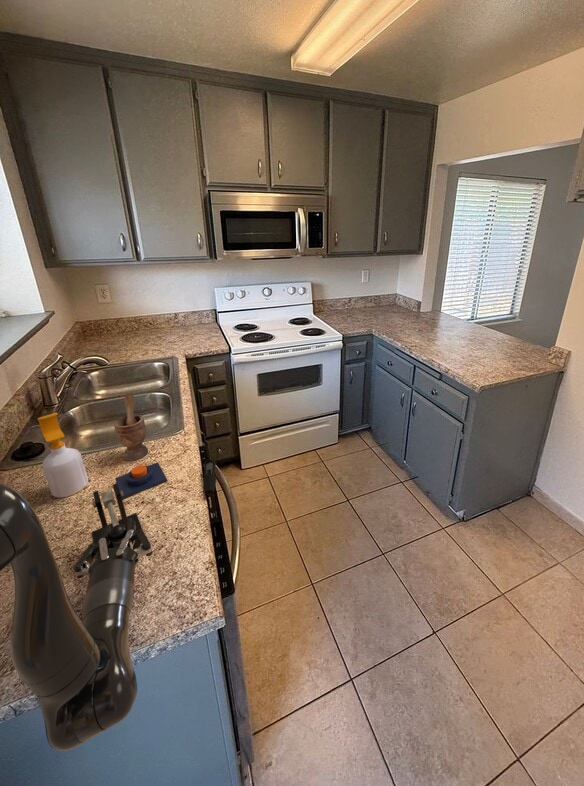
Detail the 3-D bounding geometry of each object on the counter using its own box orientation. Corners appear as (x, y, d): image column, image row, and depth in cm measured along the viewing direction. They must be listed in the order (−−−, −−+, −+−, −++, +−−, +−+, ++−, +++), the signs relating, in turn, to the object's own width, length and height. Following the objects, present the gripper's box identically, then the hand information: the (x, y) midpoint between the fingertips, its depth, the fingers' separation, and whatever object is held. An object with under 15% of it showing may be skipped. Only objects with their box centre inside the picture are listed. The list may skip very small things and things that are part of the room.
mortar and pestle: (118, 449, 123) (105, 397, 116) (145, 440, 128) (134, 389, 121) (124, 465, 115) (111, 410, 108) (153, 455, 120) (142, 402, 113)
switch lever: (130, 541, 77) (128, 531, 75) (111, 550, 75) (108, 540, 73) (117, 495, 85) (114, 486, 83) (99, 502, 83) (96, 492, 81)
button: (133, 480, 102) (132, 475, 102) (131, 473, 105) (129, 468, 105) (148, 474, 105) (147, 470, 104) (145, 468, 108) (144, 463, 107)
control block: (123, 503, 99) (119, 491, 98) (116, 484, 106) (113, 472, 105) (167, 484, 106) (165, 473, 104) (159, 467, 113) (156, 457, 112)
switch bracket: (148, 547, 85) (136, 497, 80) (100, 570, 79) (83, 519, 74) (137, 516, 94) (125, 470, 89) (93, 536, 88) (78, 488, 83)
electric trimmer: (202, 500, 100) (201, 491, 99) (204, 465, 114) (203, 457, 113) (216, 497, 101) (215, 488, 100) (216, 463, 115) (215, 455, 114)
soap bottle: (56, 503, 99) (29, 426, 91) (48, 488, 105) (23, 414, 97) (92, 486, 105) (71, 413, 97) (83, 473, 111) (62, 403, 103)
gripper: (149, 565, 65) (151, 501, 80) (56, 596, 60) (77, 521, 75) (156, 594, 68) (157, 526, 83) (68, 626, 63) (86, 548, 77)
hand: (119, 524), depth 79 cm, fingers closed on switch lever, 3 cm apart
